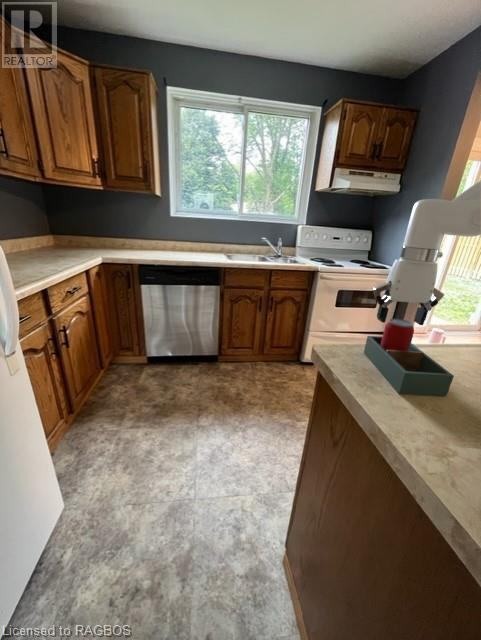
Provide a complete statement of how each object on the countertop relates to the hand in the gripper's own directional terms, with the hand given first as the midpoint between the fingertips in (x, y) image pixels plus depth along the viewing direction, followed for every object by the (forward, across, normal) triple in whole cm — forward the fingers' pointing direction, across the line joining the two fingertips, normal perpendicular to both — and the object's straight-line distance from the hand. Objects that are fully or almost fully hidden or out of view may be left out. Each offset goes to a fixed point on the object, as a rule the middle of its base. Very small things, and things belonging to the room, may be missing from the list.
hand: (399, 322), depth 71 cm
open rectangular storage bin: (+12, -1, +5) cm, 13 cm away
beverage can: (+12, -1, 0) cm, 12 cm away
